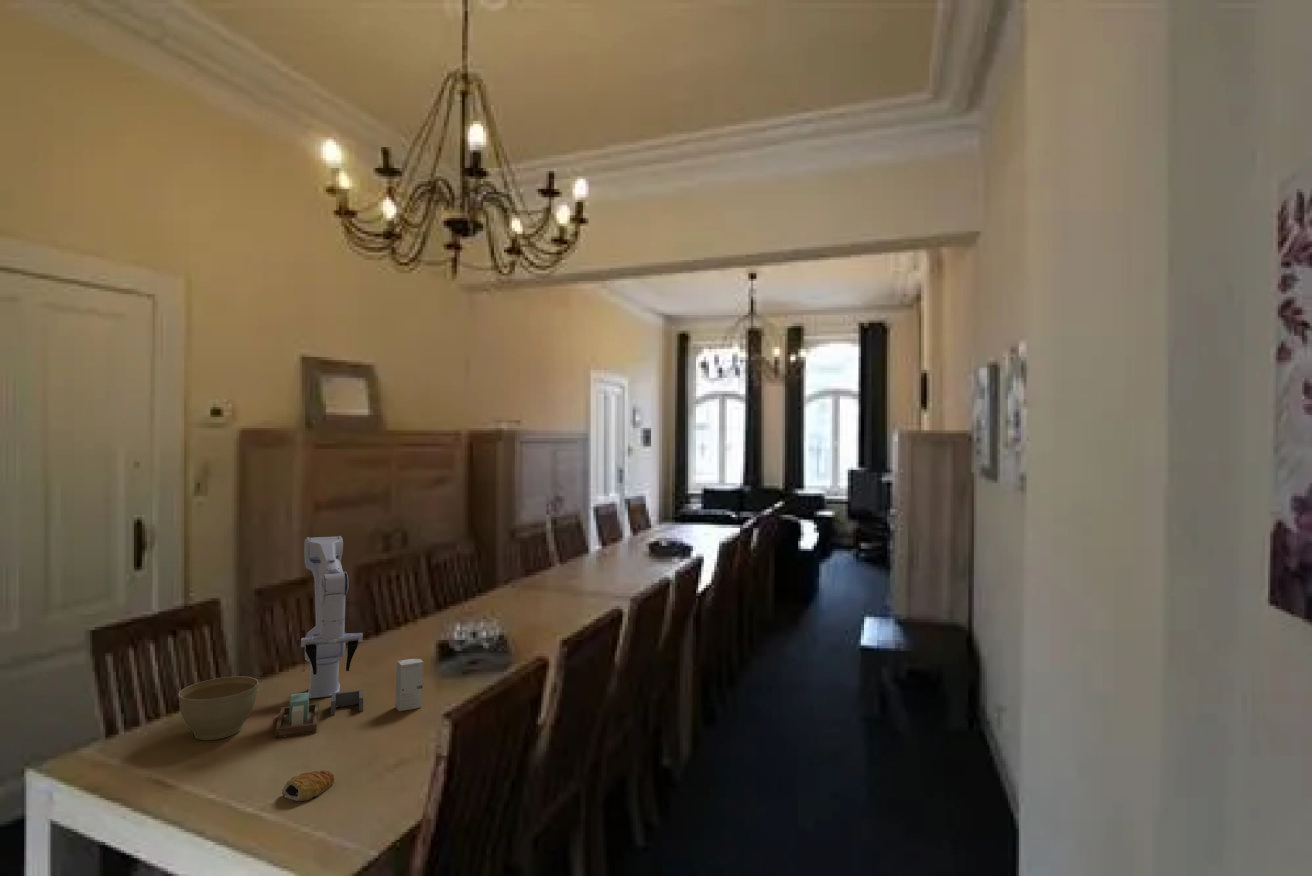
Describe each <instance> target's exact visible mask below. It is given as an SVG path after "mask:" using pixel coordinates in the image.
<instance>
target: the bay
mask: <svg viewBox="0 0 1312 876" xmlns="http://www.w3.org/2000/svg"><path fill="white" fill-rule="evenodd" d="M330 697H331V698H330V699H331V700H330V701H331V702H330V716H335V715H336V708H337V707H336V706H340V707H345V706H348V705H349V706H354V704H357V705H358V712H359V711H361V712H364V689H355V690H346V691H340V692H336V693H332V696H330Z"/></svg>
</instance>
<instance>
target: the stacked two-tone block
mask: <svg viewBox="0 0 1312 876" xmlns="http://www.w3.org/2000/svg"><path fill="white" fill-rule="evenodd" d="M309 704H310V699H309V692H308V691H307V692H301V693H300V692H298V693H292V694H291V695H290V699H289V707H290V708H289V723H292V725H291V726H297V725H303V722H304V721H307V719H308V713H309Z"/></svg>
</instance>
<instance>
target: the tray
mask: <svg viewBox="0 0 1312 876" xmlns="http://www.w3.org/2000/svg"><path fill="white" fill-rule="evenodd" d="M289 708H290V706H285V707H284V706H282V707H281V708H280V711H279V715H278V719H277V723H276V727H275V736H274V738H275V739H279V738H278V737H280V738H285V737H284V736H287V737H293V736H300V735H309V734H316V733H317V731H318V730H317V729H318V720H319V714H320V703H319V702H317V703H309V713H308V719H307V721H304V722H303V725H297V726H291V725H292V723H289Z"/></svg>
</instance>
